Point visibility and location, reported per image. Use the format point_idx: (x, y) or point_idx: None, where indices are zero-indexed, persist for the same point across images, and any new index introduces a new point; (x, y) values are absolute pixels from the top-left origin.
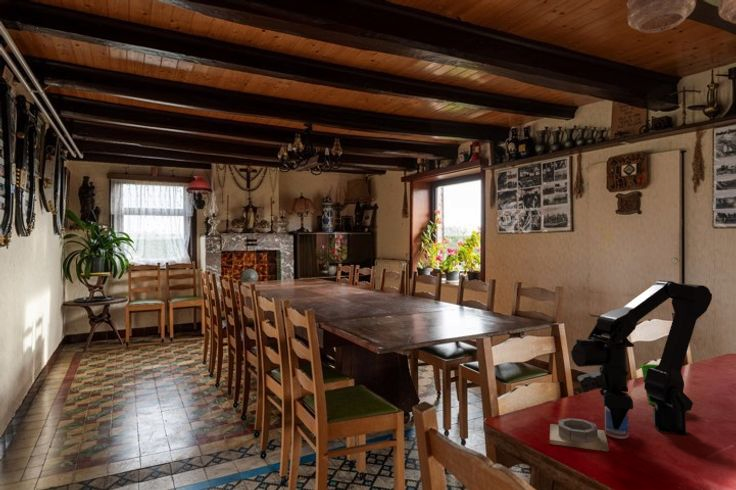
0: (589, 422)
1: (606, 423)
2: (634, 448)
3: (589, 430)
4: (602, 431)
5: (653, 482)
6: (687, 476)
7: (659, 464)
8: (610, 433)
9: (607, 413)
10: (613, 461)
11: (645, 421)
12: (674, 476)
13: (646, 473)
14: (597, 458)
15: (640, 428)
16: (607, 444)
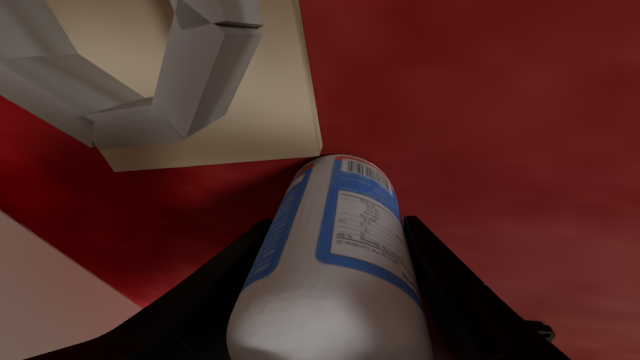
0: (189, 86)
1: (299, 193)
2: (233, 238)
3: (31, 100)
4: (294, 147)
5: (57, 247)
6: (153, 300)
7: (168, 272)
8: (291, 182)
9: (262, 259)
10: (69, 175)
11: (581, 305)
12: (130, 283)
13: (86, 242)
14: (32, 124)
15: None
16: (139, 168)
